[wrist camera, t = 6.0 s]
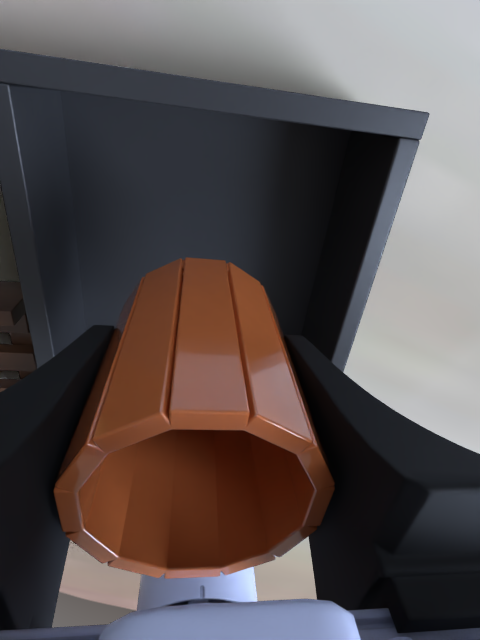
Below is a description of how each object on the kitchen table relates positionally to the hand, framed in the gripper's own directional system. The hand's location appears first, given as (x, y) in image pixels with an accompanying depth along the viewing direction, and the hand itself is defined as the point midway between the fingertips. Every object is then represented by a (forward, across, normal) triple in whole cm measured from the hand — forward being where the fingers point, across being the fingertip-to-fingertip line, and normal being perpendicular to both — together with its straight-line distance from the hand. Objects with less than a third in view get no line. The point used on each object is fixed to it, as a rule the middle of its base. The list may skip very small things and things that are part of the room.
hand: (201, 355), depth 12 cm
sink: (+8, 0, 0) cm, 8 cm away
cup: (+2, 0, 0) cm, 2 cm away
